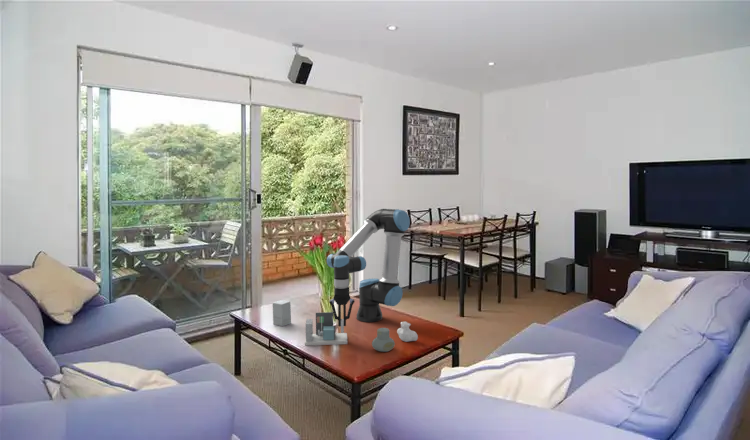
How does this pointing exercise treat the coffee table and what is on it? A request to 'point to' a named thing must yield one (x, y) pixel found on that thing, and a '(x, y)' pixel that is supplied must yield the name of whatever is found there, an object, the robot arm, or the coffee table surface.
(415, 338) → the duck figurine
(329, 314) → the gauge stand
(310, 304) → the coffee table surface
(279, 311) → the supplement box
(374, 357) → the coffee table surface
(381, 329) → the air freshener
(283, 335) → the coffee table surface
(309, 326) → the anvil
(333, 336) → the block
